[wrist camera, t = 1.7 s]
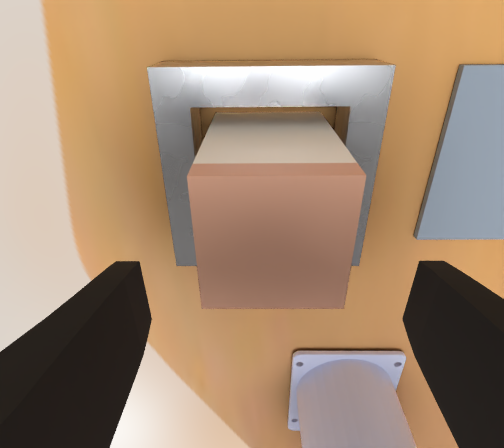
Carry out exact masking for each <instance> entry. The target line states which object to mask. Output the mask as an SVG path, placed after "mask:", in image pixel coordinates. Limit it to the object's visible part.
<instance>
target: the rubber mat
mask: <svg viewBox="0 0 504 448" xmlns="http://www.w3.org/2000/svg"><path fill="white" fill-rule="evenodd" d="M414 237H415V238H416V239H417V240H426V239H504V64H470V65H459V69H458V73H457V76H456V80H455V84H454V88H453V91H452V95H451V99H450V102H449V106H448V110H447V114H446V117H445V121H444V125H443V129H442V132H441V136H440V140H439V143H438V147H437V151H436V155H435V158H434V162H433V166H432V170H431V173H430V177H429V181H428V184H427V188H426V192H425V196H424V199H423V203H422V207H421V211H420V214H419V218H418V222H417V225H416V229H415V233H414Z"/></svg>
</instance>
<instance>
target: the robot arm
mask: <svg viewBox="0 0 504 448" xmlns="http://www.w3.org/2000/svg"><path fill="white" fill-rule="evenodd" d="M151 320H152V318H151V313H150V308H149V304H148V299H147V294H146V290H145V285H144V281H143V276H142V271H141V267H140V262H139V261H116V262H115V263H113V264H112V265H111V266H109V267H108V268H107V269H105V270H104V271H103V272H102V273H101V274H99V275H98V276H97V277H96V278H94V279H93V280H92V281H91V282H90V283H89V284H87V285H86V286H85V287H84V288H82V289H81V290H80V291H79V292H77V293H76V294H75V295H74V296H73V297H71V298H70V299H69V300H68V301H66V302H65V303H64V304H63V305H61V306H60V307H59V308H58V309H57V310H55V311H54V312H53V313H51V314H50V315H49V316H48V317H46V318H45V319H44V320H42V321H41V322H40V323H38V324H37V325H36V326H34V327H33V328H32V329H30V330H29V331H28V332H26V333H25V334H24V335H22V336H21V337H20V338H18V339H17V340H16V341H14V342H13V343H12V344H10V345H9V346H8V347H6V348H5V349H4V350H2V351H1V352H0V448H110V445H111V442H112V439H113V436H114V434H115V431H116V428H117V426H118V423H119V420H120V418H121V415H122V412H123V409H124V407H125V404H126V401H127V399H128V396H129V393H130V391H131V388H132V385H133V382H134V380H135V377H136V374H137V372H138V369H139V366H140V363H141V360H142V358H143V355H144V350H145V346H146V342H147V338H148V334H149V329H150V325H151ZM403 322H404V326H405V329H406V332H407V335H408V338H409V341H410V344H411V347H412V350H413V353H414V356H415V358H416V360H417V362H418V364H419V366H420V368H421V371H422V373H423V375H424V377H425V379H426V381H427V383H428V385H429V387H430V389H431V391H432V394H433V396H434V398H435V400H436V402H437V404H438V406H439V408H440V410H441V412H442V414H443V416H444V418H445V420H446V422H447V424H448V426H449V428H450V430H451V433H452V435H453V437H454V439H455V441H456V443H457V445H458V447H459V448H504V299H503V298H501V297H500V296H498V295H497V294H495V293H494V292H492V291H491V290H489V289H488V288H486V287H485V286H483V285H482V284H480V283H478V282H477V281H475V280H474V279H472V278H471V277H469V276H468V275H466V274H465V273H463V272H462V271H460V270H458V269H457V268H455V267H453V266H452V265H450V264H448V263H447V262H445V261H419V264H418V267H417V271H416V274H415V278H414V281H413V285H412V288H411V291H410V295H409V298H408V302H407V305H406V308H405V312H404V315H403ZM405 361H406V356H405V354H404V352H402V351H296V352H295V353H294V354H293V357H292V371H291V384H290V398H289V411H288V428H289V429H290V430H300V435H301V444H302V448H417V446H416V444H415V441H414V438H413V436H412V433H411V431H410V428H409V425H408V423H407V420H406V417H405V415H404V412H403V409H402V407H401V404H400V402H399V399H398V396H397V394H396V389H397V386H398V383H399V380H400V377H401V373H402V370H403V367H404V364H405Z"/></svg>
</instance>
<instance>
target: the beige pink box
mask: <svg viewBox="0 0 504 448" xmlns="http://www.w3.org/2000/svg"><path fill="white" fill-rule="evenodd" d="M365 181H366V174H365V173H364V171H363V170H362V169H361V167H360V166H359V164H358V163H357V162H356V160H355V159H354V158H353V156H352V155H351V153H350V152H349V151H348V149H347V148H346V146H345V145H344V144H343V142H342V141H341V140H340V138H339V137H338V135H337V134H336V133H335V131H334V130H333V128H332V127H331V126H330V124H329V123H328V122H327V120H326V119H325V117H324V116H323V115H322V113H321V112H216V113H215V115H214V118H213V120H212V122H211V124H210V126H209V129H208V131H207V133H206V135H205V137H204V140H203V142H202V144H201V146H200V148H199V151H198V153H197V155H196V157H195V160H194V162H193V164H192V166H191V168H190V171H189V173H188V175H187V182H188V190H189V199H190V208H191V217H192V226H193V235H194V244H195V253H196V262H197V271H198V280H199V289H200V297H201V306H202V309H344V305H345V299H346V293H347V288H348V282H349V276H350V270H351V264H352V258H353V252H354V246H355V240H356V234H357V228H358V222H359V217H360V211H361V205H362V199H363V193H364V187H365Z"/></svg>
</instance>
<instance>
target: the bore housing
mask: <svg viewBox="0 0 504 448" xmlns="http://www.w3.org/2000/svg"><path fill="white" fill-rule="evenodd" d="M395 66H396V65H394V64H390V63H387V62H384V61H380V60H377V59H344V60H238V61H162V62H159V63H157V64H154V65H152V66H149V67H147V71H148V77H149V84H150V91H151V97H152V104H153V111H154V118H155V124H156V131H157V138H158V144H159V151H160V158H161V165H162V171H163V178H164V185H165V191H166V198H167V205H168V211H169V218H170V225H171V232H172V238H173V245H174V252H175V258H176V265H177V266H197V262H196V253H195V244H194V235H193V226H192V217H191V208H190V199H189V190H188V182H187V175H188V173H189V171H190V168H191V166H192V164H193V162H194V160H195V157H196V155H197V153H198V151H199V148H200V146H201V144H202V142H203V141H202V129H201V117H200V107H323V106H337V109H336V118H335V127H334V131H335V133H336V134H337V135H338V137H339V138H340V140H341V141H342V142H343V144H344V145H345V146H346V148H347V149H348V151H349V152H350V153H351V155H352V156H353V158H354V159H355V160H356V162H357V163H358V164H359V166H360V167H361V169H362V170H363V171H364V173H365V174H366V181H365V187H364V193H363V199H362V205H361V211H360V217H359V222H358V228H357V234H356V240H355V246H354V252H353V258H352V264H351V266H359V263H360V258H361V252H362V247H363V241H364V236H365V230H366V225H367V219H368V214H369V208H370V203H371V198H372V192H373V187H374V181H375V176H376V170H377V165H378V159H379V154H380V148H381V143H382V137H383V132H384V127H385V121H386V116H387V110H388V105H389V99H390V94H391V88H392V83H393V77H394V72H395Z"/></svg>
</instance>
